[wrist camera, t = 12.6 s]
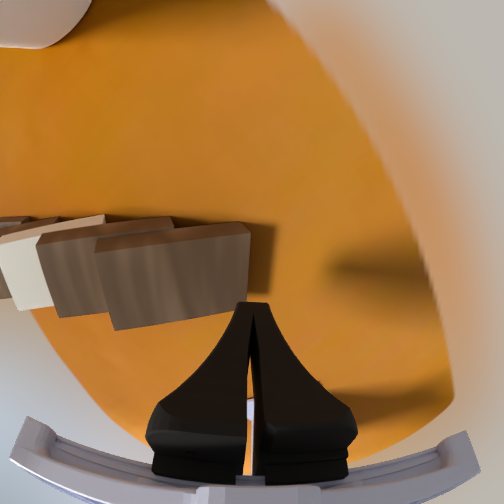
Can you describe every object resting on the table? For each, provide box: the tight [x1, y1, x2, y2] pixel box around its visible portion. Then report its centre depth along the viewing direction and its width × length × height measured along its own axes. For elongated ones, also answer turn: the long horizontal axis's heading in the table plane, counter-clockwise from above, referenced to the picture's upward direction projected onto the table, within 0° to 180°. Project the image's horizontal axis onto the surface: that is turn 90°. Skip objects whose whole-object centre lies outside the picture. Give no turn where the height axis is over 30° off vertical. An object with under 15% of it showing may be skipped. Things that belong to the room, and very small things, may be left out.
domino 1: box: [94, 222, 251, 331], centre depth 15 cm, size 2×5×8 cm
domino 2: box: [35, 216, 174, 318], centre depth 15 cm, size 2×5×8 cm
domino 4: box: [0, 216, 60, 299], centre depth 15 cm, size 2×5×8 cm
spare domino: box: [0, 214, 106, 311], centre depth 15 cm, size 2×5×8 cm
